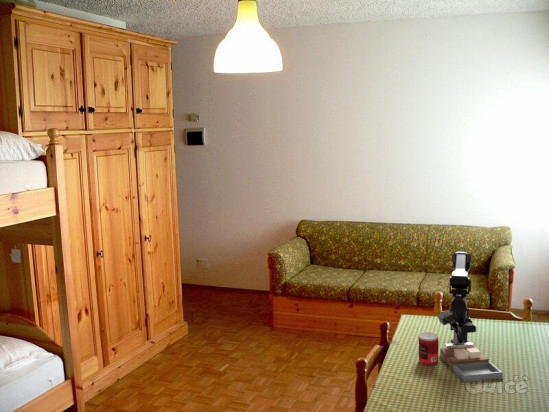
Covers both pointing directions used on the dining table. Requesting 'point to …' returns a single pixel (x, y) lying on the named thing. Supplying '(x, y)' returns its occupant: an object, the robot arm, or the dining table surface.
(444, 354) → the plate
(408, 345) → the dining table surface
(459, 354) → the tile
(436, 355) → the canned food
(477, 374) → the box
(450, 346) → the scraper
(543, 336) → the dining table surface
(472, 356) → the tile
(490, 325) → the dining table surface
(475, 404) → the dining table surface
